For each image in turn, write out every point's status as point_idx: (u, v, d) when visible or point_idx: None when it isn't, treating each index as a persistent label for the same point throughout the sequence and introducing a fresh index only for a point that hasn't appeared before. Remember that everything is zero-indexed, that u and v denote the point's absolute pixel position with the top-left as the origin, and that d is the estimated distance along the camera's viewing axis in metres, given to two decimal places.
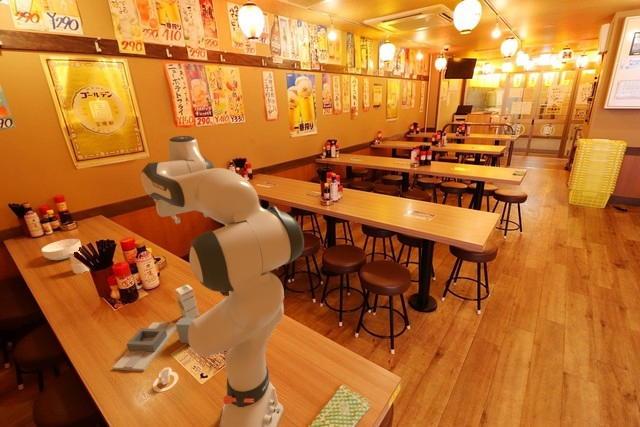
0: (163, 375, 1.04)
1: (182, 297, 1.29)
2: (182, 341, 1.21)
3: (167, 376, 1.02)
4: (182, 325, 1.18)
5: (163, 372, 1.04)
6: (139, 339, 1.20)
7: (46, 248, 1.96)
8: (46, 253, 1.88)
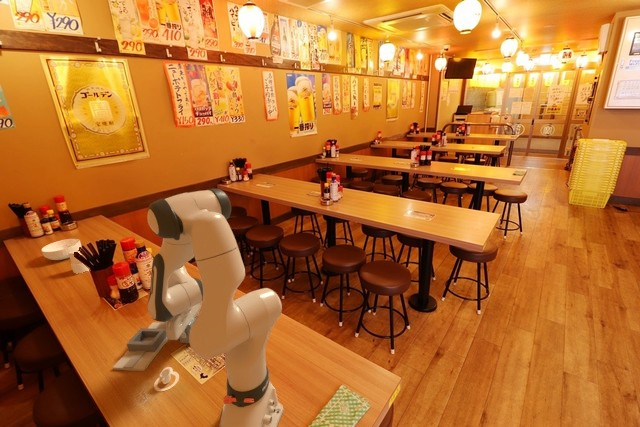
0: (164, 375, 1.04)
1: None
2: (182, 341, 1.21)
3: (168, 376, 1.03)
4: None
5: (164, 371, 1.04)
6: (139, 339, 1.20)
7: (46, 248, 1.96)
8: (46, 253, 1.88)
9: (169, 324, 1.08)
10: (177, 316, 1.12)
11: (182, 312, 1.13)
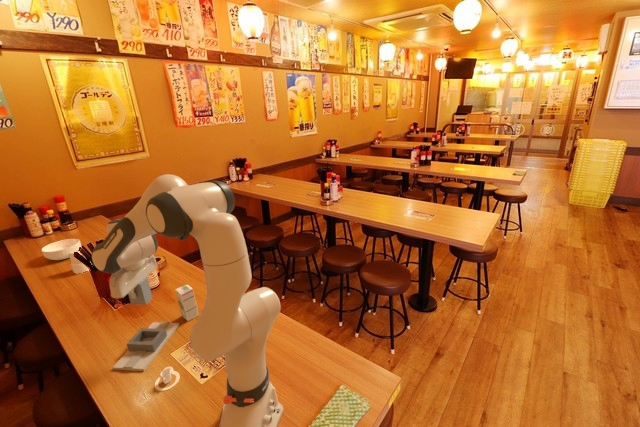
0: (165, 374, 1.04)
1: (182, 297, 1.29)
2: (133, 303, 1.12)
3: (169, 375, 1.03)
4: None
5: (164, 371, 1.04)
6: (139, 339, 1.20)
7: (46, 248, 1.96)
8: (46, 253, 1.88)
9: (112, 280, 0.99)
10: (123, 273, 1.03)
11: (129, 269, 1.05)
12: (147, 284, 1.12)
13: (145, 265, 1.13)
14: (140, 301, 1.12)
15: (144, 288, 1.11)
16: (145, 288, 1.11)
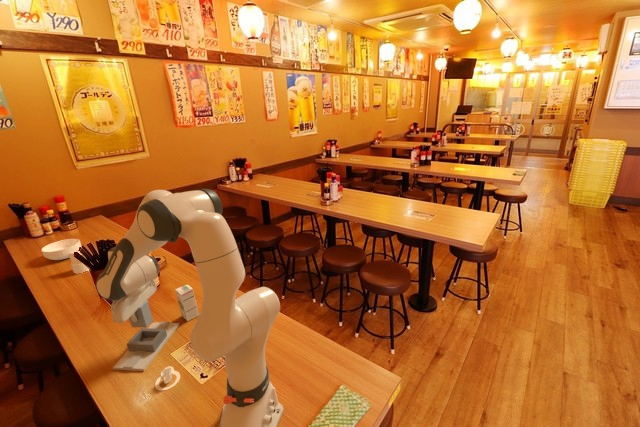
0: (165, 374, 1.04)
1: (182, 297, 1.29)
2: (134, 326, 1.15)
3: (169, 375, 1.03)
4: None
5: (165, 371, 1.04)
6: (139, 339, 1.20)
7: (46, 248, 1.96)
8: (46, 253, 1.88)
9: (114, 306, 1.02)
10: (124, 298, 1.06)
11: (130, 294, 1.07)
12: (147, 307, 1.15)
13: (145, 288, 1.16)
14: (141, 324, 1.14)
15: (144, 312, 1.13)
16: (145, 311, 1.14)
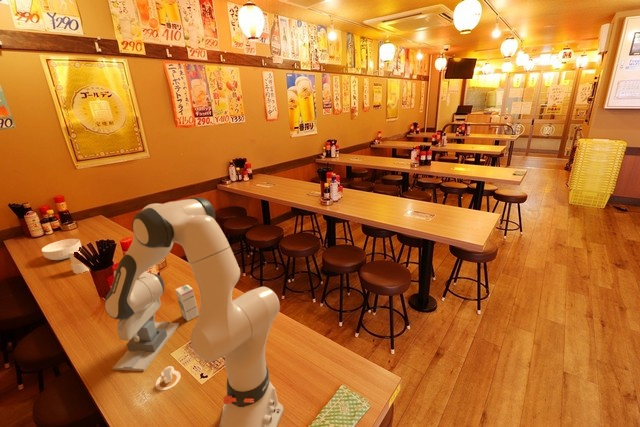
0: (165, 374, 1.05)
1: (182, 297, 1.29)
2: None
3: (169, 375, 1.03)
4: None
5: (165, 370, 1.04)
6: None
7: (46, 248, 1.96)
8: (46, 253, 1.88)
9: (120, 324, 1.05)
10: (130, 316, 1.09)
11: (136, 312, 1.10)
12: (153, 326, 1.18)
13: (150, 305, 1.19)
14: None
15: (150, 331, 1.16)
16: (151, 330, 1.17)
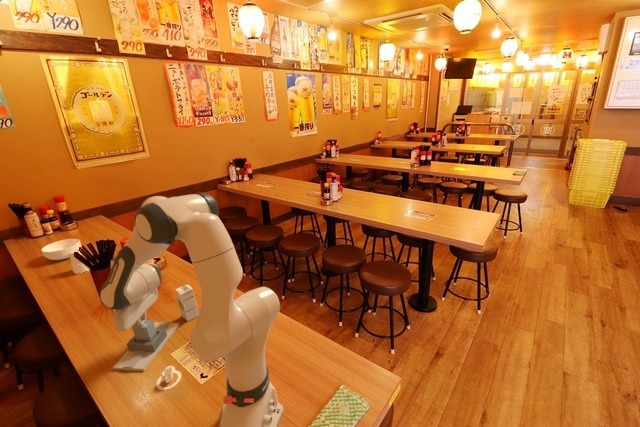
0: (166, 373, 1.05)
1: (182, 297, 1.29)
2: None
3: (170, 374, 1.03)
4: (138, 328, 1.15)
5: (166, 370, 1.05)
6: None
7: (46, 248, 1.96)
8: (46, 253, 1.88)
9: (117, 314, 1.04)
10: (127, 306, 1.07)
11: (133, 302, 1.09)
12: (153, 326, 1.18)
13: (147, 296, 1.18)
14: None
15: (150, 331, 1.16)
16: (151, 330, 1.17)
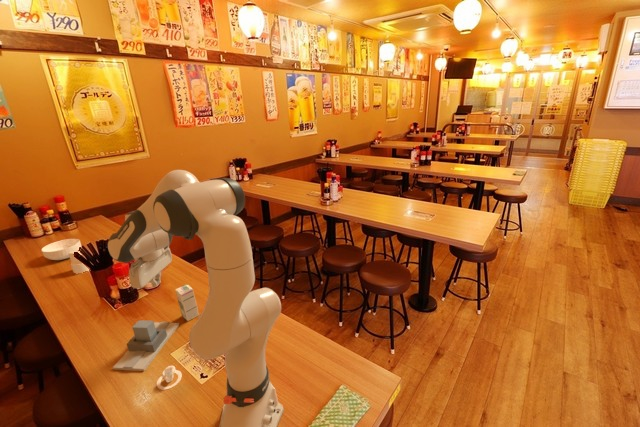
0: (167, 373, 1.05)
1: (182, 297, 1.29)
2: None
3: (171, 374, 1.03)
4: (138, 328, 1.15)
5: (166, 370, 1.05)
6: None
7: (46, 248, 1.96)
8: (46, 253, 1.88)
9: (132, 270, 1.01)
10: (142, 263, 1.05)
11: (148, 260, 1.06)
12: (153, 326, 1.18)
13: (161, 257, 1.15)
14: None
15: (150, 331, 1.16)
16: (151, 330, 1.17)
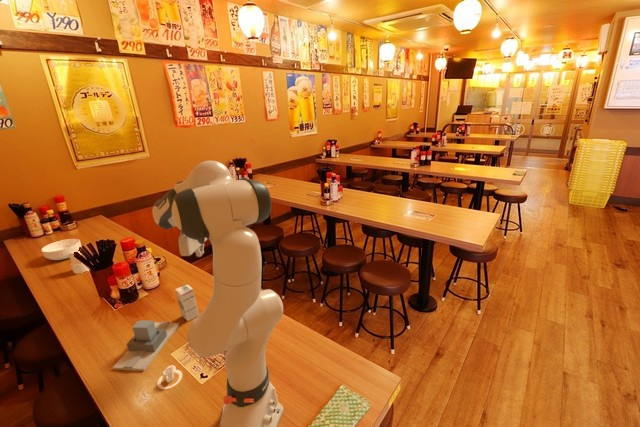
0: (167, 373, 1.05)
1: (182, 297, 1.29)
2: None
3: (171, 374, 1.03)
4: (138, 328, 1.15)
5: (167, 369, 1.05)
6: None
7: (46, 248, 1.96)
8: (46, 253, 1.88)
9: (182, 237, 1.04)
10: None
11: None
12: (153, 326, 1.18)
13: None
14: None
15: (150, 331, 1.16)
16: (151, 330, 1.17)
